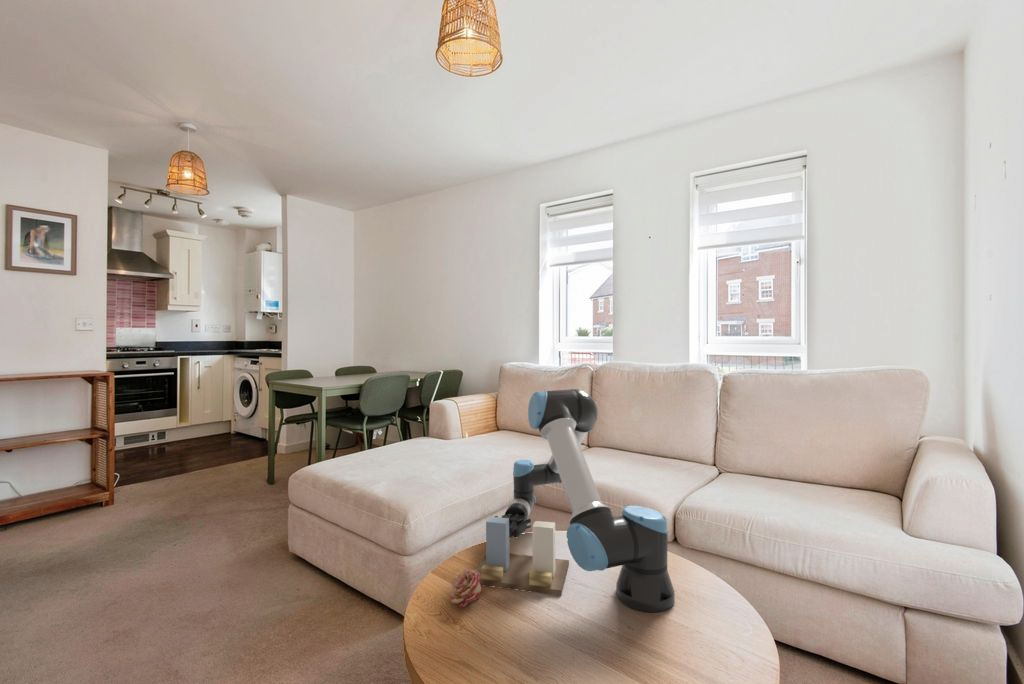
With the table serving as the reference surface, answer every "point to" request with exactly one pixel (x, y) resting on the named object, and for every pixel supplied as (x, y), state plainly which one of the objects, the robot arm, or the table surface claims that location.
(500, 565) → the light blue tall block
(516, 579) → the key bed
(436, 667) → the table surface
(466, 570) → the flower
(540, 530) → the key cream
